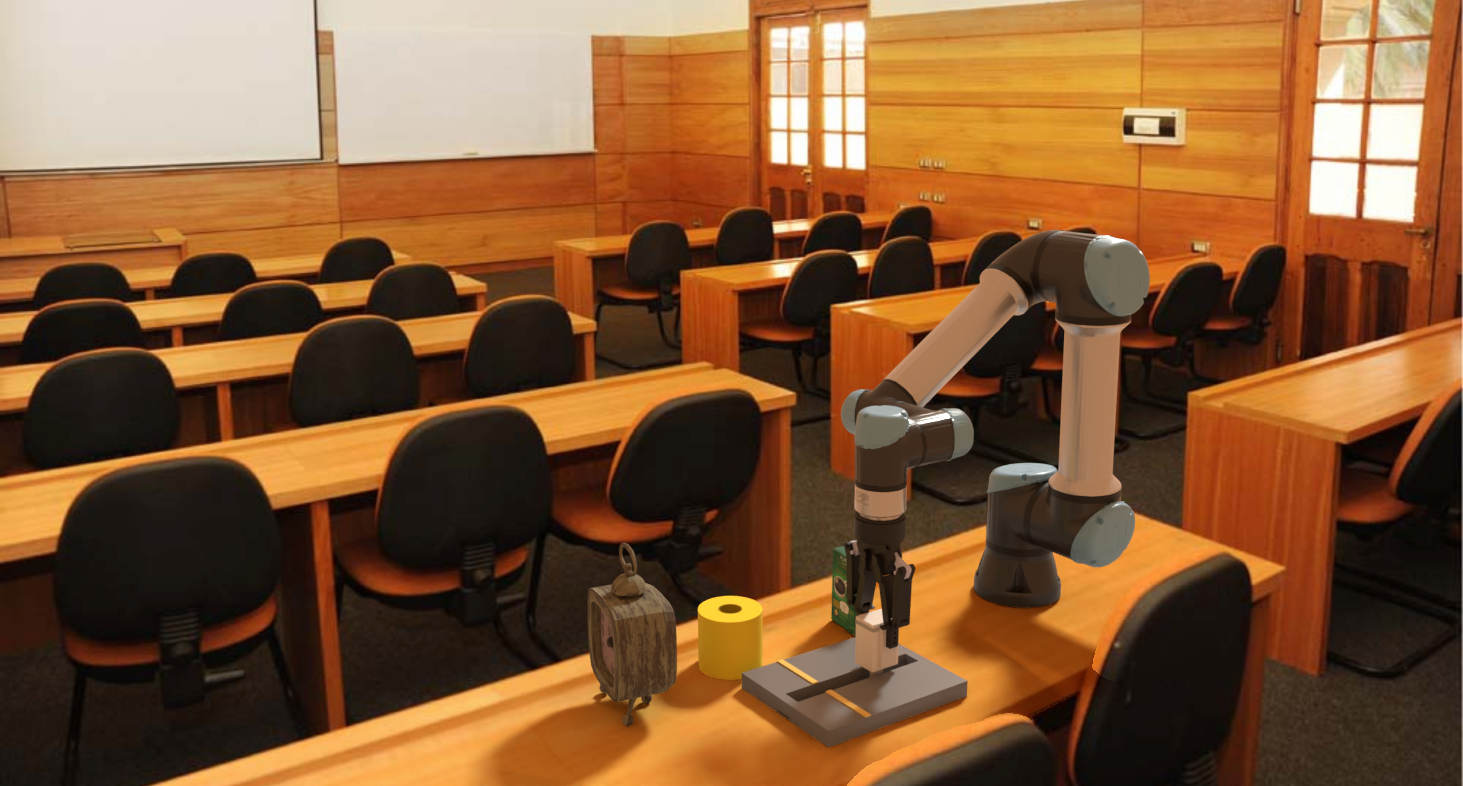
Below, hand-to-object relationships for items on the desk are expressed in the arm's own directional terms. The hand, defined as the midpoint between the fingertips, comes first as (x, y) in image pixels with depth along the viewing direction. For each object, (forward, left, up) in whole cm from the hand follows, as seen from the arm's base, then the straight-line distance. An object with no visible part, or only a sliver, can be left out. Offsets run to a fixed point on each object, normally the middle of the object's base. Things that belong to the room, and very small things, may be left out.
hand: (876, 659), depth 190 cm
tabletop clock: (+33, -15, -4) cm, 37 cm away
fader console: (+4, 0, -4) cm, 6 cm away
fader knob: (0, 0, -4) cm, 4 cm away
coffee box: (-10, -18, -4) cm, 21 cm away
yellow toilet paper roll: (+14, -18, -4) cm, 23 cm away
